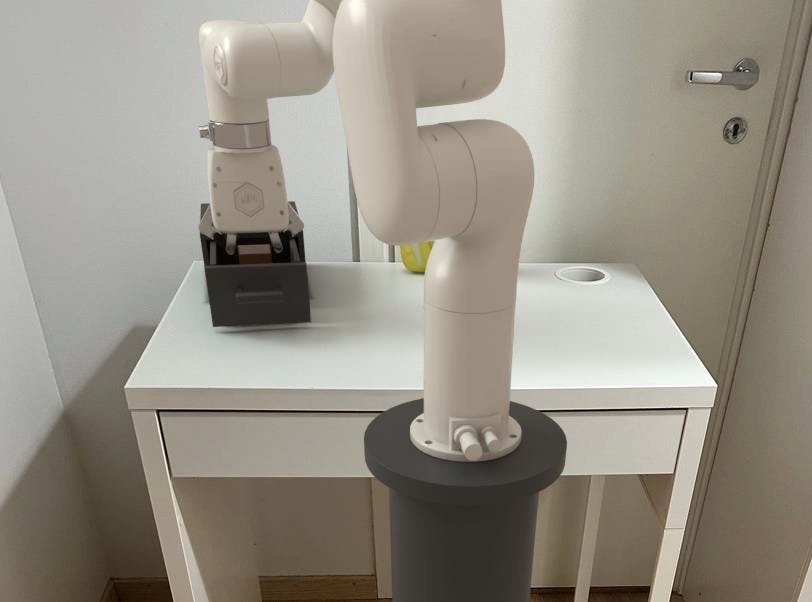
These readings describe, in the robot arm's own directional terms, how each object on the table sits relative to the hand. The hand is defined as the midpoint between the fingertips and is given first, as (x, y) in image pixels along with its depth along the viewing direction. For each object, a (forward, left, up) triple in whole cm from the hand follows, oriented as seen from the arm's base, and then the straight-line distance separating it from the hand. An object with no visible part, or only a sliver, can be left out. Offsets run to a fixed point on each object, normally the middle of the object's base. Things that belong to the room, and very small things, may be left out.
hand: (257, 279), depth 129 cm
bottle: (+17, -29, -5) cm, 34 cm away
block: (0, 0, 0) cm, 0 cm away
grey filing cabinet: (+15, 0, -5) cm, 15 cm away
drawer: (-1, 0, -4) cm, 4 cm away
